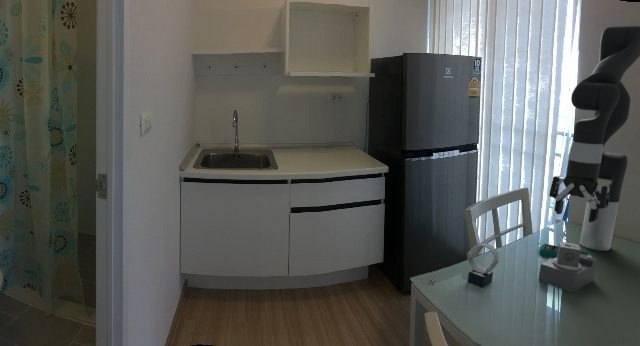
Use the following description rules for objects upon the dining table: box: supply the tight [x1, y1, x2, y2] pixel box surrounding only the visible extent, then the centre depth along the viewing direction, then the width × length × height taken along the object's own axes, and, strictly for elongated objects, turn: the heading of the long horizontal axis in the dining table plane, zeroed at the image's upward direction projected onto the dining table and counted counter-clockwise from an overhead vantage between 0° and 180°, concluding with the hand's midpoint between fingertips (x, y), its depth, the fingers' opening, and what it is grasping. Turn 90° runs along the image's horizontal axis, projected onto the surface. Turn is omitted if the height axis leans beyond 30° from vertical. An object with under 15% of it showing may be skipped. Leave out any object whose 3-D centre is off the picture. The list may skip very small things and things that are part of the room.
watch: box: [466, 242, 499, 289], centre depth 124 cm, size 6×8×11 cm
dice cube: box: [557, 241, 582, 268], centre depth 126 cm, size 5×5×5 cm
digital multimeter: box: [538, 243, 593, 259], centre depth 147 cm, size 7×15×3 cm, turn 58°
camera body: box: [537, 254, 598, 293], centre depth 128 cm, size 14×9×7 cm, turn 128°
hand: (574, 217), depth 124 cm, fingers open, 8 cm apart
